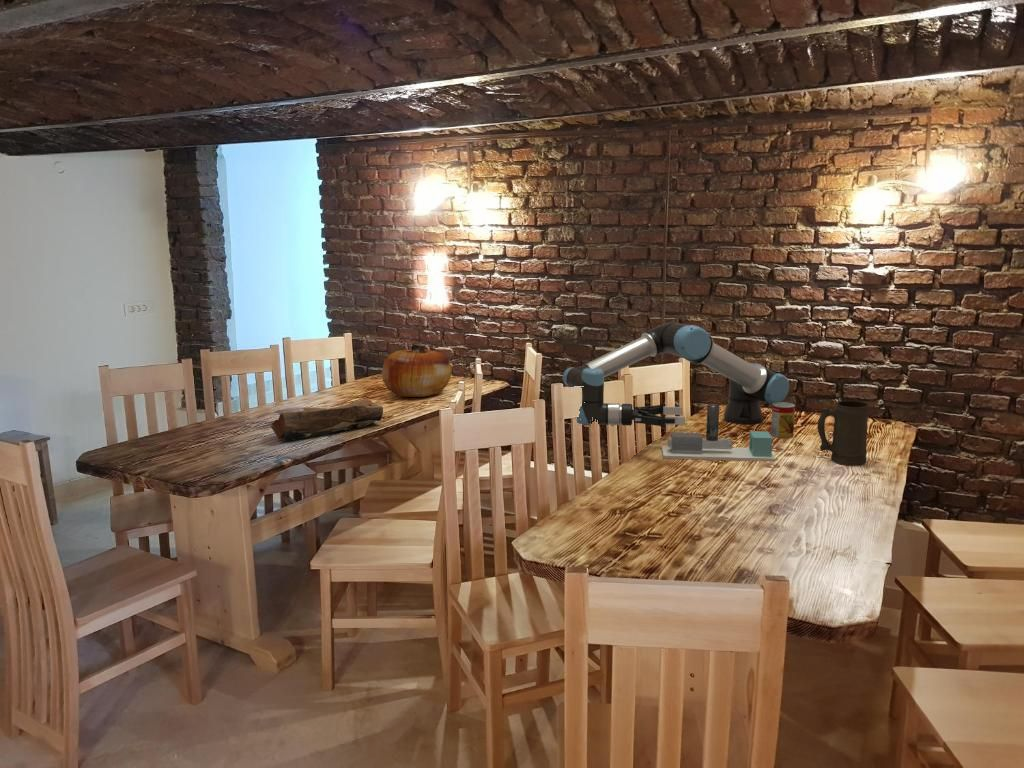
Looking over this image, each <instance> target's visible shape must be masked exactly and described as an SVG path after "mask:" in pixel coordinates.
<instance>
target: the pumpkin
mask: <svg viewBox="0 0 1024 768" xmlns="http://www.w3.org/2000/svg"><path fill="white" fill-rule="evenodd" d="M452 371H453V370H452V365H451V362H450V360H449V358H448V357H447V356H446V355H445V354H443V353H442V352H440V351H437V350H432V349H430V350H429V349H426V348H425V345H423V344H422V343H413V344H412V346H411V349H403V350H402V349H400V350H395V351H393V352H391V353H390V354H389V355H387V356H386V358H385V359H384V361H383V365H382V371H381V375H382V382H383V383H384V385H385V387H386V389H387V390H389V392H391V393H393V394H394V395H396V396H397V397H405V398H408V397H412V398H413V397H414V398H417V397H418V398H422V397H429V396H432V395H436V394H439V393H441V392H442V391H443V390H444V389H445V388H446V387H447V385H448V384H449V381H450V380H451V375H452Z"/></svg>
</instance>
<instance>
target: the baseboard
mask: <svg viewBox="0 0 1024 768" xmlns="http://www.w3.org/2000/svg"><path fill="white" fill-rule="evenodd" d="M661 450H662V451H661V453H662V458H663V459H672V460H702V461H703V460H704V461H708V460H709V461H711V460H712V461H742V462H745V461H746V462H774V463H775V462H776V461H777V460H776V457H775V455H774V454H773V453H772V454H771V457H761V456H752V454H751V452H750V450H749V447H733V446H732V450H727V449H702V454H684V453H672V451H671V448H669V446H668V445H661Z"/></svg>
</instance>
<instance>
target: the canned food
mask: <svg viewBox="0 0 1024 768" xmlns="http://www.w3.org/2000/svg"><path fill="white" fill-rule="evenodd" d="M771 405H772V406H771V407H772V409H771V427H770V435H771V437H772V438H775V439H781V440H782V439H783V440H790V439H793V438H794V430H795V413H796V404H794V403H791V402H784V401H782V402H777V403H773V404H771Z"/></svg>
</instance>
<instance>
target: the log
mask: <svg viewBox="0 0 1024 768" xmlns="http://www.w3.org/2000/svg"><path fill="white" fill-rule="evenodd" d="M302 409H303V410H297V411H288V412H281V413H280V414H279V417H278V419H274V421H273V422H272V423H271V424H270V427H271V429H272V431H273V432H274V434H275V435H276V437H277V438H278V439H280V440H281V439H283V440H284V439H285V440H286V439H287V440H290V441H297V440H301V439H303V438H314V437H318V436H319V437H320V436H324V435H327V434H335V433H339V432H348V431H354V430H358V429H363V428H365V427H367V426H368V425H372V424H373V423H375V422H380V421H382V418H383V414H384V406H383V405H380V404H378V403H375V402H373V401H372V400H371V399H368V398H364V399H359V400H356V401H355V400H353V401H351V402H350V403H349V404H345V405H340V406H335V407H330V408H326V407H325V408H323V407H303V408H302Z"/></svg>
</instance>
